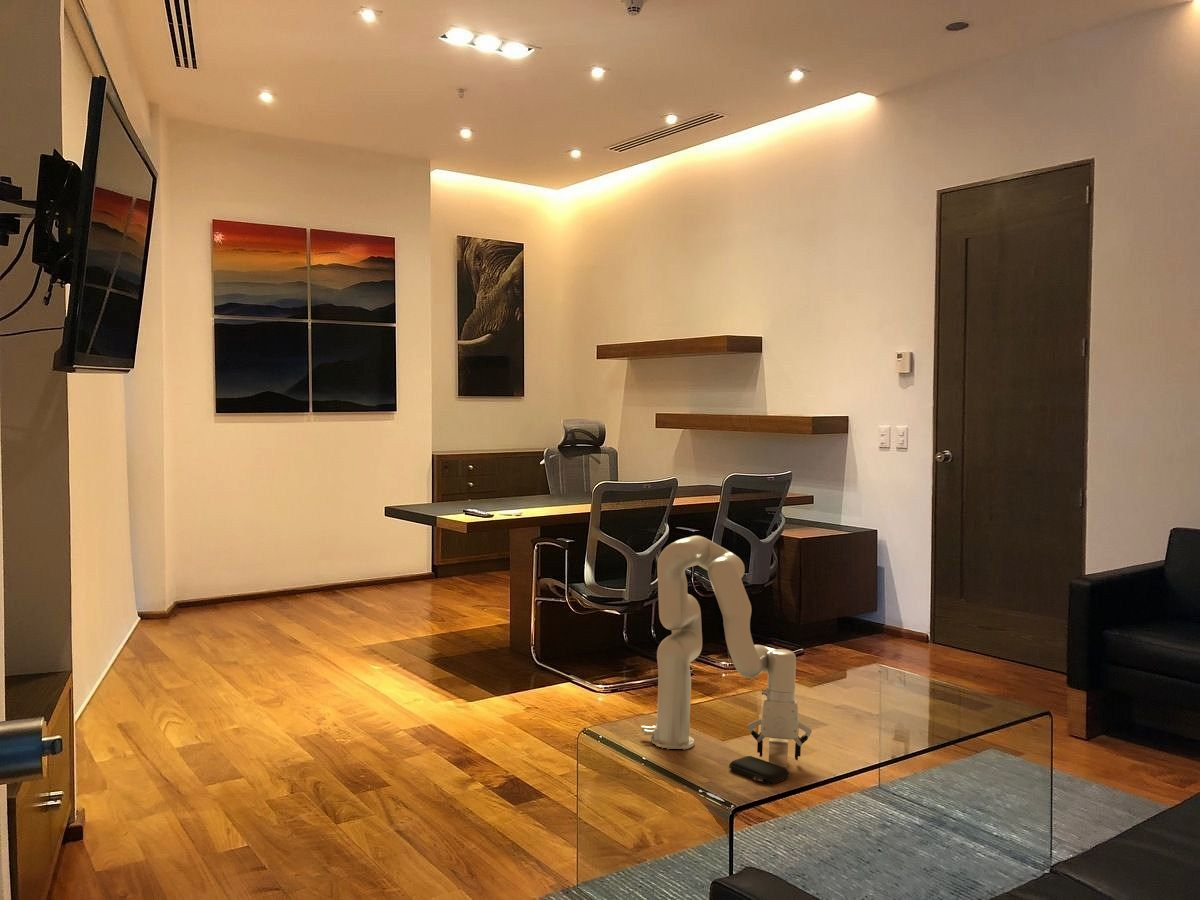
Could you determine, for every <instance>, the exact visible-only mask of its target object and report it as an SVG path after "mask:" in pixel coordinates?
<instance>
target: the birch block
mask: <svg viewBox="0 0 1200 900" xmlns="http://www.w3.org/2000/svg"><path fill="white" fill-rule="evenodd" d="M768 740H769V743H768V762H770V763H773V764H775V765H778V766H781V767H783V766H784V768H788V754H789V744H788V743H789V741H788V740H789V739H779V738H768Z"/></svg>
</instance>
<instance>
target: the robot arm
mask: <svg viewBox="0 0 1200 900" xmlns="http://www.w3.org/2000/svg"><path fill="white" fill-rule="evenodd" d="M656 564H657V566H656V567H657V568H656V569H657V570H656V572H657V585H658V587H657V590H658V591H657V593H658V594H657V595H658V597H657V598H658V615H659V616H658V617H659V621H660V623H661V624H662V627H664V628H665V629H666V630H669V631H671V634H670V635H667V636H666V637H665V638H664V639H662V640H661V642H660V643H659V645H658V646H657V650H656V661H657V662H656V663H657V670H658V673H657V675H658V676H657V677H658V680H657V681H658V683H657V711H656V713H657V714H656V724H655V725H652V726H648V725H641V730H640V731H641V732H640V733H644V735H647V736H650V742H651V741H652V742H653V743H654V744H656V745H658V746H660V747H663V748H667V749H666V750H669V749H683V750H688V749H691V748H692V747H693V746H694V745H695V739H694V738H693V737H692V736H690V722H691V721H690V720H691V701H692V700H691V699H692V697H691V696H692V675H691V667H690V665H691V662H693V661H694V660H696V659H697V658H698V657H699V656H700V654H701V652H702V649H703V632H702V631H703V630H702V628H703V627H702V611H701V606H700V603H699V601H698V600H697V598H696V597H694V596H693V595H692V594H689V593H688V579H687V575H686V570H687V569H689V568H691V567H695V566H699V567H701V569H704V570H706V571H707V576H708V580H709V581H710V584H711V588H712V590H713V592H714V595H715V598H716V601H717V604H718V607H719V609H720V612H721V616H722V619H723V620H722V621H723V622H722V624H723V629H724V630H723V631H724V638H725V643H726V646H727V651H728V653H729V655H730V659H731V660H732V664H733V666H734V668H735V670H736V671H737V673H738V674H739V675H741V676H742V677H744V678H748V679H753V678H756V677H758V676H759V675H761V673H762V674H763V673H764V672H767V680H766V681H767V685H766V686H767V688H766V689H761V695H764V696H765V698H764V700H763V704H762V709H761V718H758V719H756V720H753V721H752V722H749V723H748V724H747V727H748V730H749V732H750V735H751V736H752V737H753V738H754V739H755V740H756V742H757V745H756V746H757V748H756V750H757V751H756V753H759V758H762V757H763V746H764V744H763V743H764V739H766V738H768V739H769V738H774V739H784V740H793V741H794V742H795V743H794V744H795V745H794V759H795V761H799V760H798V759H799V757H801V749H802V747H801V746H802V745H803V744H804V743H806V741H808V739H809V737H810V736H811V735H812V731H813V730H812V729H811V728H810V727H809V726H808V725H805V724H804V723H802V722H801V721H800V720H799V719H800V718H799V706H798V701H797V700H796V699H795V697H796V672H797V671H796V669H797V666H796V665H797V657H796V654H795V652H793V651H792V650H789V649H783V648H781V649H780V648H778V649H776V648H772V647H768V646H766V645H761V644H755V643H754V641H753V637H752V633H751V617H752V611H753V610H752V604H751V601H750V598H749V595H748V593H747V591H746V589H745V585H744V584H743V580H742V578H743V577H744V575H745V570H746V569H745V563H744V562H743V560H742V559H741V558H740V557H739V556H738V555H736V554H735V553H734V552H732V551H730V550H728V549H727V548H725V547H723V546H721V545H719V544H717V543H715V542H714V541H712V540H710V539H708V538H707V537H704V536H701V535H691V536H688V537H684V538H680V539H677V540H674V542H671V543H670V544H668V545H667V546H665V547H664V548H663V550H662V551H661V553H660V554H659V556H658V559H657V563H656ZM758 726H760V732H757V730H756V729H755V727H758ZM799 729H800V730H801V731H804V734H803V735H802V736H801V737H800V736H799V731H800V730H799ZM663 748H662V749H663Z"/></svg>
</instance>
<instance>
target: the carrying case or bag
mask: <svg viewBox="0 0 1200 900" xmlns="http://www.w3.org/2000/svg"><path fill="white" fill-rule="evenodd" d="M728 767H729V768H728V769H730V770H731V771H732V772H733V773H735V774H737V775H740V774H741V776H743V777H746V778H748V779H751V780H754V781H757V782H759V783H763V784H765V785H769V784H770V785H774V784H777V783H779V781H780V782H782V781H784V780H783V779H785V780H786V779H787V778H789V776H790V772H789V771H788V769H787V768H786V767H781V766H778V765H775V764H773V763H770V762H769V761H766V760H764V759H760V758H758V757H755V756H751V755H746V756H743V757H740V758H738V759H734V760H732V761H731V762H730V763H729V765H728ZM781 780H782V781H781Z"/></svg>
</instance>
